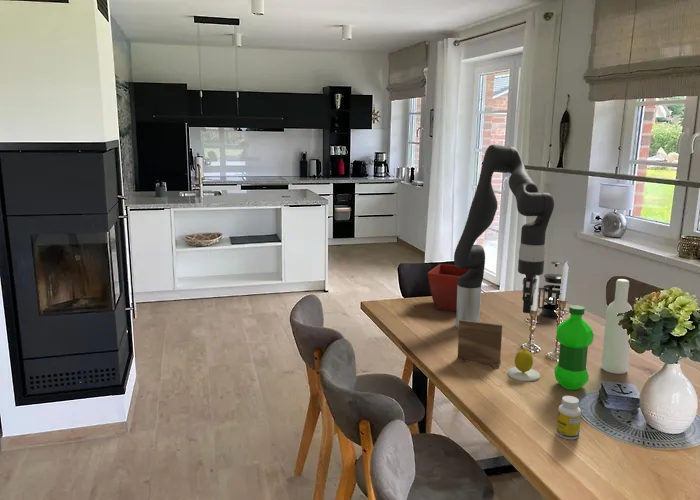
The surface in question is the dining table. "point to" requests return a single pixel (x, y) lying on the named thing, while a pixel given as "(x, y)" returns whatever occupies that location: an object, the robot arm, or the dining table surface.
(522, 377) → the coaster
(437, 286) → the plant pot
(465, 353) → the walnut screen
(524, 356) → the lemon
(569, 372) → the plastic bottle
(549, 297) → the french press
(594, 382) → the dining table surface
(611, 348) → the bottle
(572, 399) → the supplement bottle
